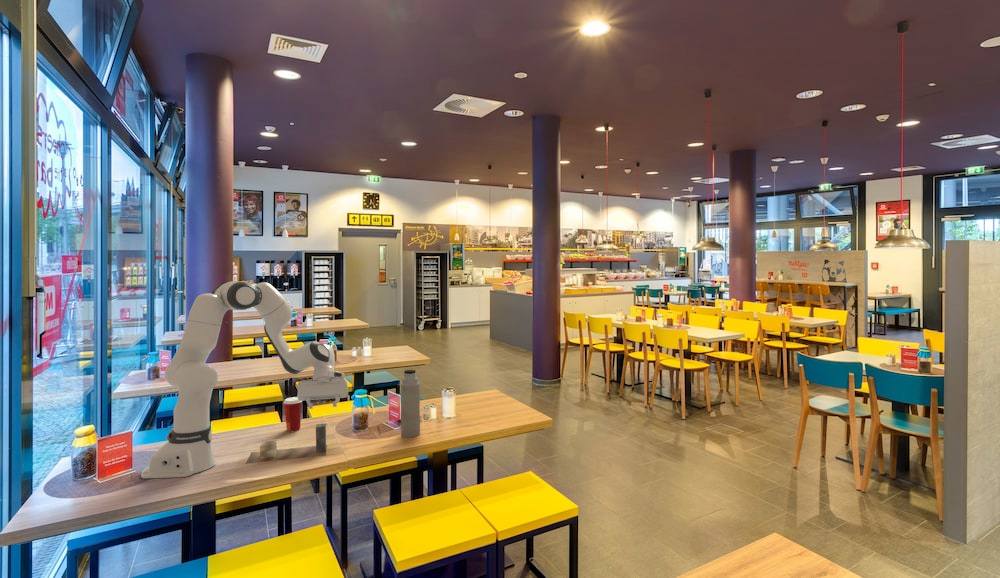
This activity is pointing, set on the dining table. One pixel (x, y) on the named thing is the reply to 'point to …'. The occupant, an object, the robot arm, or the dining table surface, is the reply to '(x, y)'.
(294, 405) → the paper cup
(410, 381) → the thermos bottle
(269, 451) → the gray-green cube
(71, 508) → the dining table surface
